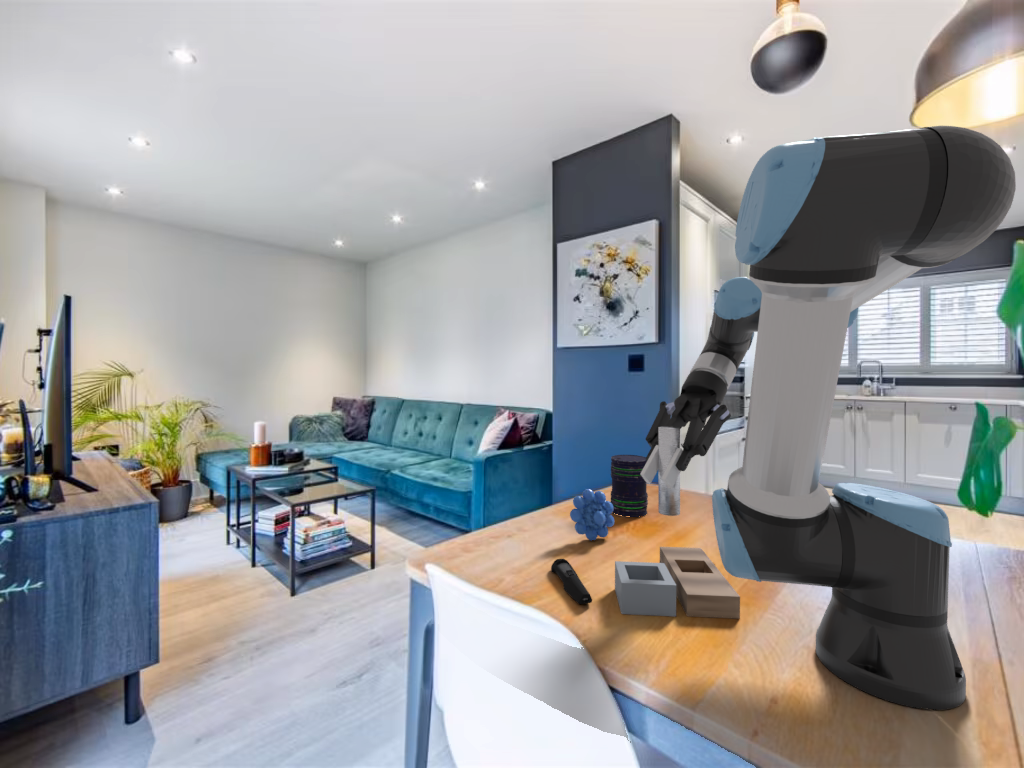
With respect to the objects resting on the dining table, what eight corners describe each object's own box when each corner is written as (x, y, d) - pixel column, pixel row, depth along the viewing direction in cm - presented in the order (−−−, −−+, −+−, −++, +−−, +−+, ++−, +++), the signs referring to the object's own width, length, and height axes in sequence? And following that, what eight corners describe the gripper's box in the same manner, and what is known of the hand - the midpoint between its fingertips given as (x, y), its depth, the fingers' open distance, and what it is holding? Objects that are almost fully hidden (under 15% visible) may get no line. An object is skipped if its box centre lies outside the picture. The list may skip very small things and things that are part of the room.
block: (676, 616, 74) (676, 585, 74) (621, 613, 75) (621, 583, 74) (663, 591, 82) (664, 563, 82) (614, 588, 83) (615, 561, 83)
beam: (739, 618, 73) (740, 596, 73) (687, 616, 74) (687, 594, 74) (700, 565, 93) (701, 547, 93) (659, 563, 94) (659, 546, 94)
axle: (682, 516, 80) (682, 429, 80) (660, 515, 81) (660, 428, 80) (677, 509, 84) (677, 426, 83) (656, 509, 84) (656, 426, 84)
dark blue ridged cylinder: (640, 506, 133) (640, 454, 132) (653, 517, 123) (653, 461, 123) (606, 507, 132) (606, 454, 132) (616, 518, 122) (616, 461, 122)
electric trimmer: (575, 613, 76) (575, 594, 76) (549, 571, 91) (549, 555, 91) (597, 611, 77) (597, 592, 76) (568, 569, 92) (568, 554, 92)
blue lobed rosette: (580, 551, 100) (580, 495, 100) (564, 540, 107) (565, 488, 106) (625, 543, 105) (625, 490, 105) (607, 533, 111) (607, 483, 111)
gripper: (759, 397, 84) (710, 504, 75) (677, 394, 98) (626, 485, 88) (745, 367, 81) (691, 476, 71) (662, 368, 94) (607, 460, 84)
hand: (655, 481), depth 80 cm, fingers closed on axle, 3 cm apart
